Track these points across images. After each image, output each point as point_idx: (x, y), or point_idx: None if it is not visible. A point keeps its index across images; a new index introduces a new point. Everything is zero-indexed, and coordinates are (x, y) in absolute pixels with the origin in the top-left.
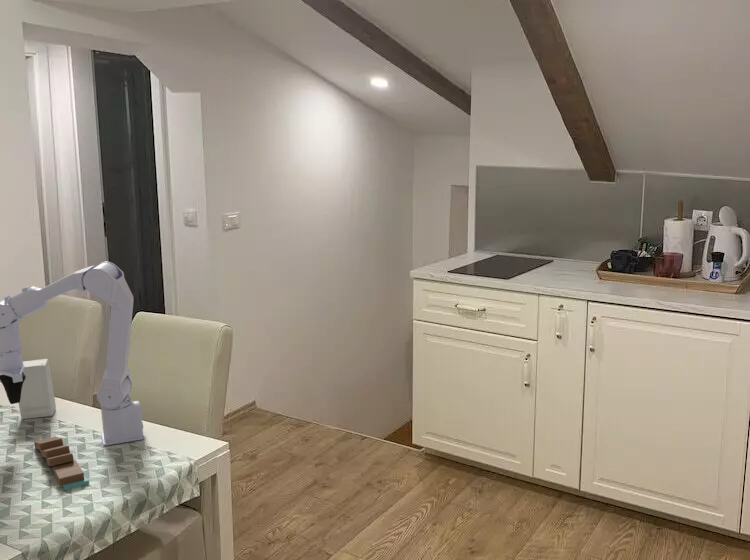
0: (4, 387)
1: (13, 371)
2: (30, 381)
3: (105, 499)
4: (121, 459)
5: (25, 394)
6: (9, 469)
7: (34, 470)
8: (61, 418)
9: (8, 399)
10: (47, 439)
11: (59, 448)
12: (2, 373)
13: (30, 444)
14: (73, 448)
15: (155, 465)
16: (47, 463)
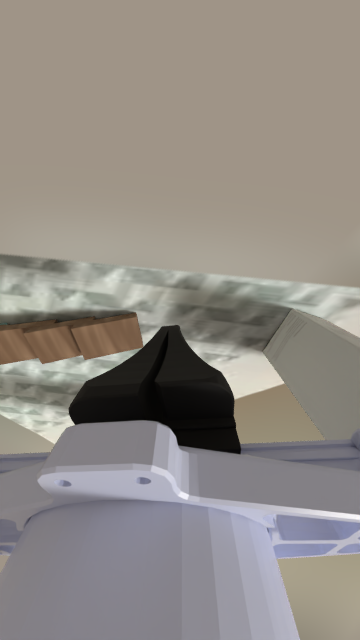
0: (170, 354)
1: (6, 535)
2: (335, 388)
3: None
4: (52, 390)
5: (318, 349)
6: (52, 264)
7: (38, 300)
8: (242, 360)
9: (174, 329)
10: (121, 337)
11: (35, 351)
12: (22, 478)
13: (155, 308)
14: (109, 356)
15: (27, 409)
16: (36, 322)
